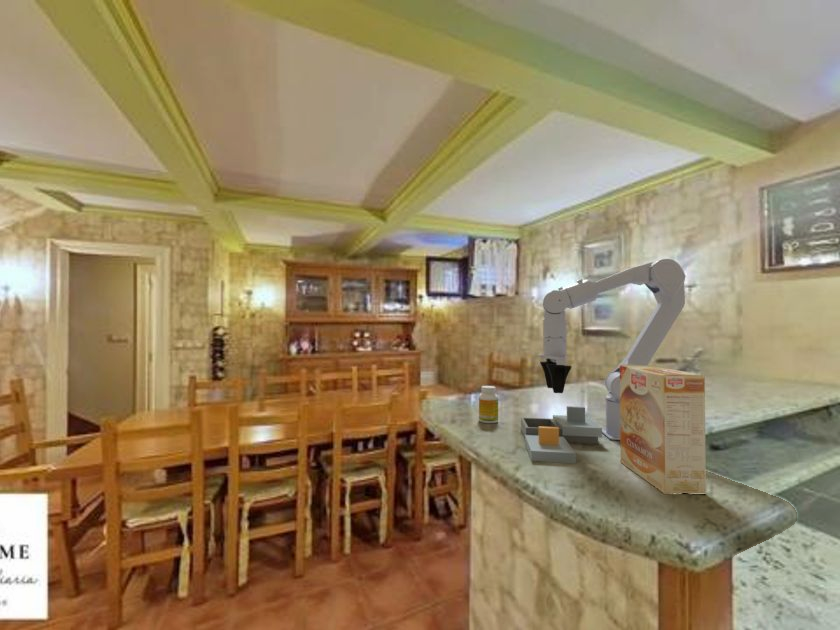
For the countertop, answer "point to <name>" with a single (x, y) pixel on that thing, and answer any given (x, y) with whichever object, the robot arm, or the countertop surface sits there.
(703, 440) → the coffeecake box
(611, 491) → the countertop surface
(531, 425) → the parts tub
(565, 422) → the lid segment
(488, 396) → the supplement bottle
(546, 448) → the tabbed lid segment
